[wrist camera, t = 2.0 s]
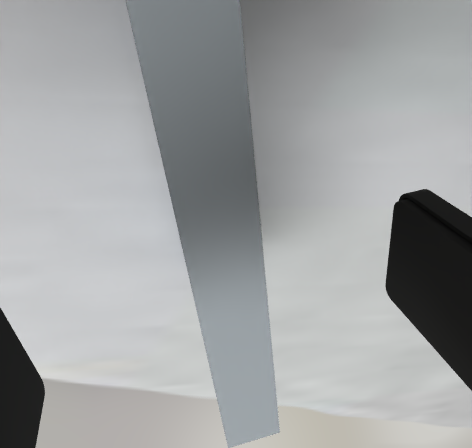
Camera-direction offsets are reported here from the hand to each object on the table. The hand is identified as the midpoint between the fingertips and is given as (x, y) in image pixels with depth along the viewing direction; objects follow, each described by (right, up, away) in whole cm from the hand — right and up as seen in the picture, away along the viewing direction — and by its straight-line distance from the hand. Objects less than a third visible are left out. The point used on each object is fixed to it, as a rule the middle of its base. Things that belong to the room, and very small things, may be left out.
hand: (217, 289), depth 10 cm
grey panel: (-2, +7, +10) cm, 12 cm away
